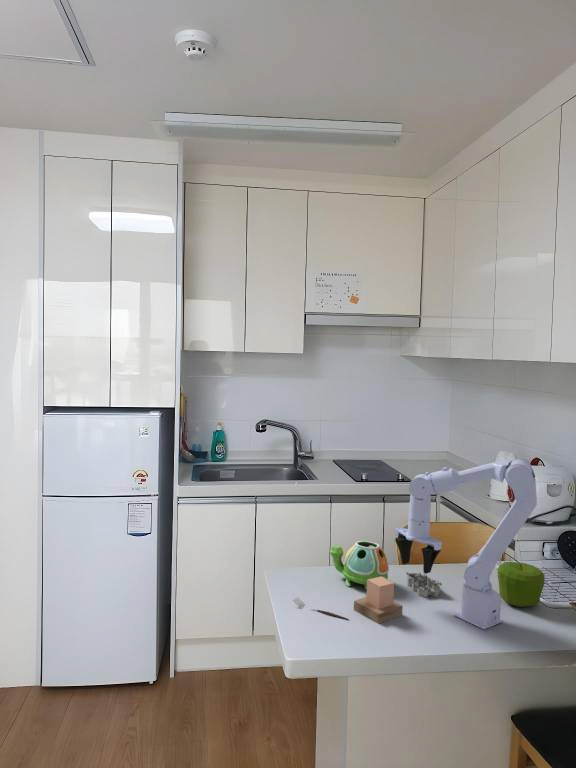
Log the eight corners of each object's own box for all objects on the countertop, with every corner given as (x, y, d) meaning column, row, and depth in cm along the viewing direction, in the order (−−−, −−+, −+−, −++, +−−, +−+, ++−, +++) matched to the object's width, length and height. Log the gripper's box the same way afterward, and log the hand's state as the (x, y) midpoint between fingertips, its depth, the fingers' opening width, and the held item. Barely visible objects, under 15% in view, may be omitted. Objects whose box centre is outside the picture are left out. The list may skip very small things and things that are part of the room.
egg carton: (442, 598, 167) (443, 584, 167) (417, 598, 166) (418, 584, 166) (427, 582, 178) (428, 569, 177) (403, 583, 176) (404, 569, 176)
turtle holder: (338, 568, 185) (340, 531, 184) (393, 581, 177) (395, 543, 176) (321, 581, 174) (323, 542, 174) (379, 596, 166) (381, 555, 165)
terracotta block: (393, 605, 154) (394, 583, 154) (378, 609, 152) (379, 586, 151) (380, 598, 159) (381, 576, 158) (366, 601, 156) (367, 579, 155)
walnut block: (401, 616, 155) (402, 605, 154) (378, 625, 149) (378, 614, 149) (377, 603, 162) (377, 593, 162) (353, 611, 156) (354, 600, 156)
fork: (346, 623, 149) (347, 616, 149) (292, 607, 157) (292, 600, 157) (351, 619, 151) (351, 612, 151) (297, 603, 159) (297, 596, 159)
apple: (517, 615, 158) (520, 574, 157) (486, 596, 169) (488, 558, 168) (552, 609, 162) (555, 569, 161) (519, 591, 174) (522, 554, 173)
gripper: (389, 514, 163) (386, 561, 164) (430, 528, 151) (427, 580, 152) (406, 510, 167) (403, 557, 168) (448, 524, 156) (444, 574, 156)
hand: (416, 567), depth 160 cm, fingers open, 7 cm apart
